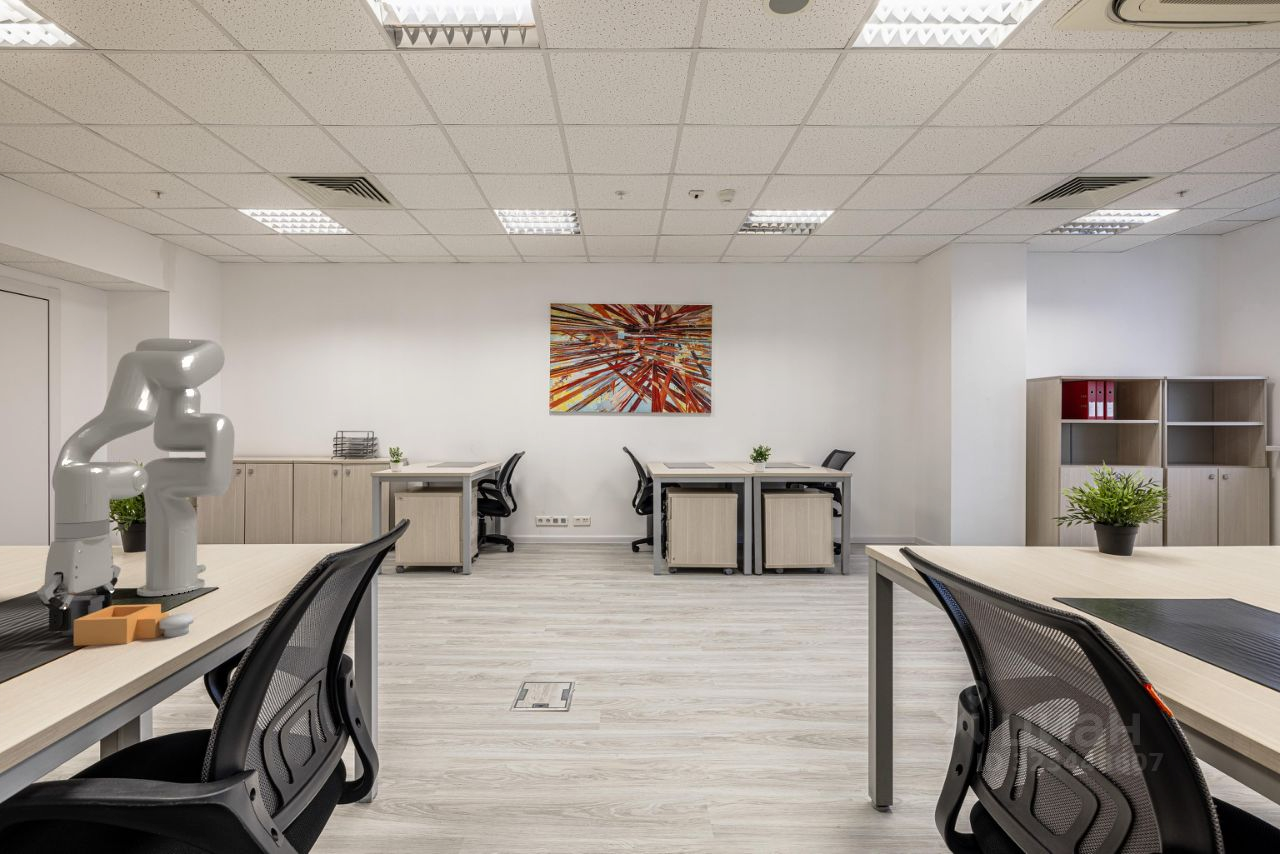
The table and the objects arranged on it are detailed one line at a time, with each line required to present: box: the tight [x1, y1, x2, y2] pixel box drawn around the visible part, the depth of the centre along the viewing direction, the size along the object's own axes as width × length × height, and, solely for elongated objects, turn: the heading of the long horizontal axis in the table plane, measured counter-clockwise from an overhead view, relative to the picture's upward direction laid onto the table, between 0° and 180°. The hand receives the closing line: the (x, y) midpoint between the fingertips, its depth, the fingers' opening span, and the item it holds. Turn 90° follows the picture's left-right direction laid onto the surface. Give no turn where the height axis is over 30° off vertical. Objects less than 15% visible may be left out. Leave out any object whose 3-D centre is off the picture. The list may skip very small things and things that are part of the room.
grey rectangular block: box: [60, 595, 104, 637], centre depth 109 cm, size 3×5×6 cm, turn 97°
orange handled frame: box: [73, 603, 195, 647], centre depth 108 cm, size 17×9×4 cm, turn 97°
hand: (81, 622), depth 109 cm, fingers open, 8 cm apart
